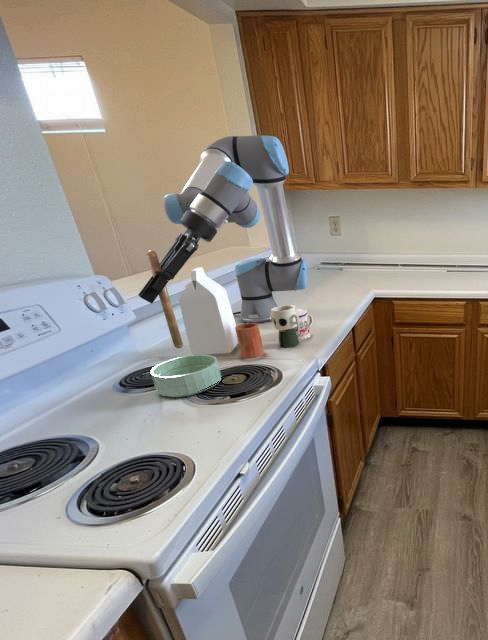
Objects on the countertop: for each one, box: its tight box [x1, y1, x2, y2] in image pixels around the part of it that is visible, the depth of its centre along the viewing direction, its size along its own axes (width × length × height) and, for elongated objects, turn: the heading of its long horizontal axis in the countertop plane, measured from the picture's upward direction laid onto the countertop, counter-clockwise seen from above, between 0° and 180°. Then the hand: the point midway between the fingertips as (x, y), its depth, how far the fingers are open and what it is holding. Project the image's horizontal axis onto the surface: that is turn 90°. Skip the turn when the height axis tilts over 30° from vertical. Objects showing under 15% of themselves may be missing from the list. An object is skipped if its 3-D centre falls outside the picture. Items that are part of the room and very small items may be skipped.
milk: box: [178, 266, 239, 355], centre depth 130 cm, size 12×12×26 cm
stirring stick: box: [146, 250, 184, 349], centre depth 101 cm, size 2×2×24 cm
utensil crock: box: [235, 322, 265, 359], centre depth 127 cm, size 6×6×10 cm
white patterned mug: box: [290, 304, 314, 341], centre depth 143 cm, size 12×9×12 cm
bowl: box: [150, 354, 223, 398], centre depth 109 cm, size 15×15×6 cm
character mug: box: [270, 304, 300, 349], centre depth 134 cm, size 11×7×13 cm, turn 68°
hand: (145, 299), depth 98 cm, fingers closed on stirring stick, 2 cm apart
